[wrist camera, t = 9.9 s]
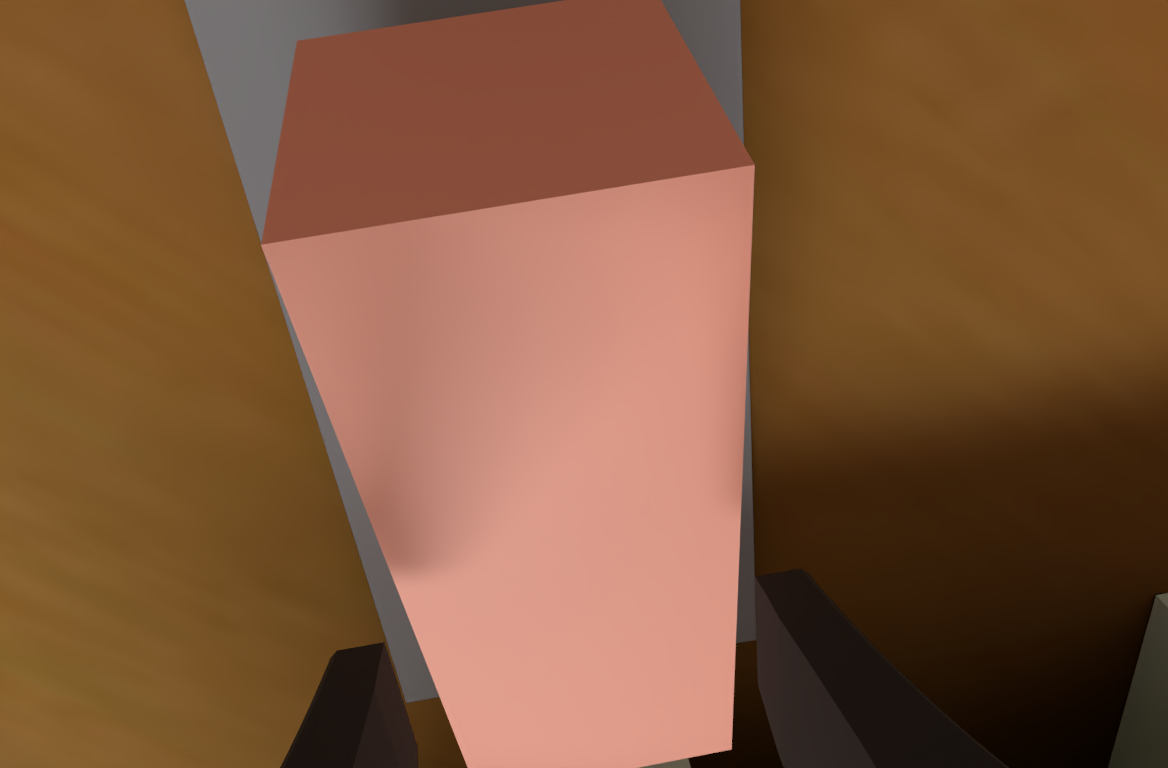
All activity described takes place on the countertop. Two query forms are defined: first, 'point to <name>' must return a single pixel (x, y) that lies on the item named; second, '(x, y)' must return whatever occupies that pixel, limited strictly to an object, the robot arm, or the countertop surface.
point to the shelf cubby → (1127, 703)
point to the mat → (253, 125)
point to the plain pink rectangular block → (534, 361)
